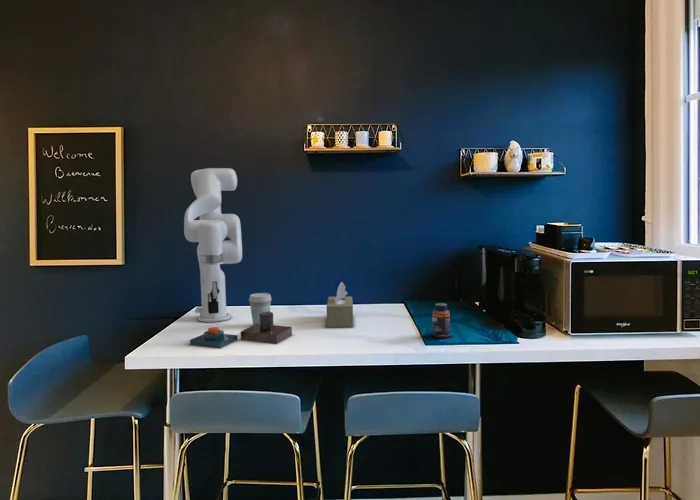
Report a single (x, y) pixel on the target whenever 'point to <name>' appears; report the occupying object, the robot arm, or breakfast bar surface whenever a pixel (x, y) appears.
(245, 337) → the panel
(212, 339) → the button box
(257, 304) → the coffee cup
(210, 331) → the button
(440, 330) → the supplement bottle
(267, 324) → the knob
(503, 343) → the breakfast bar surface
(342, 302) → the tissue box
